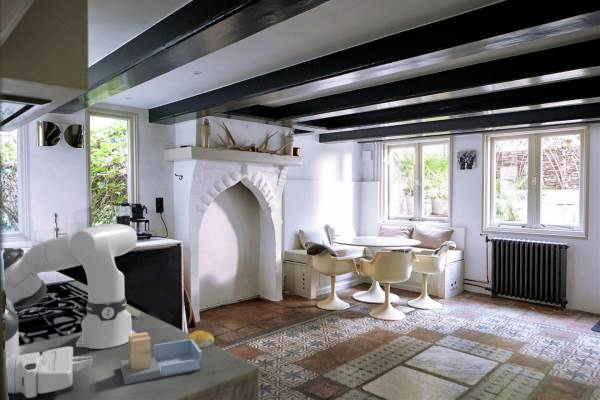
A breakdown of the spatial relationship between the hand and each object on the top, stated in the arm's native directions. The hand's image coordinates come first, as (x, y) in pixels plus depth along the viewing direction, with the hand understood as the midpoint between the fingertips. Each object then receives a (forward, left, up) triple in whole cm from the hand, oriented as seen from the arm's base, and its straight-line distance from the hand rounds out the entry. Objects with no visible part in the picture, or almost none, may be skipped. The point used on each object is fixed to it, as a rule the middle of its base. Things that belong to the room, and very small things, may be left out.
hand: (92, 360), depth 113 cm
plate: (0, +12, -6) cm, 13 cm away
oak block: (0, +12, -4) cm, 12 cm away
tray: (0, +22, -6) cm, 23 cm away
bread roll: (-15, +32, -6) cm, 36 cm away
